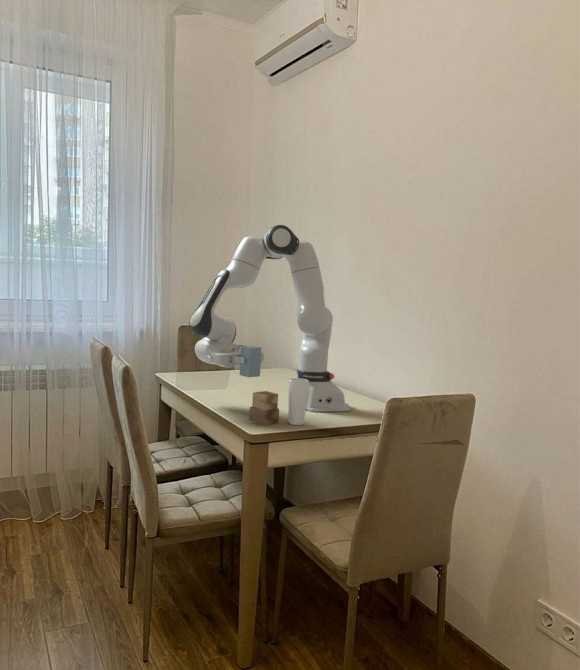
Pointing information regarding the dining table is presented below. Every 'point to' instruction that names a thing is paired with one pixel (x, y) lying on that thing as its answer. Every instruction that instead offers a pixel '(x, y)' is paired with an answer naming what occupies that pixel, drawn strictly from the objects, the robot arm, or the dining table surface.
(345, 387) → the dining table surface
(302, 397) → the drinking glass
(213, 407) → the dining table surface
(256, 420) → the tower base
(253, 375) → the pillar
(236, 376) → the dining table surface
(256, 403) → the tower top
